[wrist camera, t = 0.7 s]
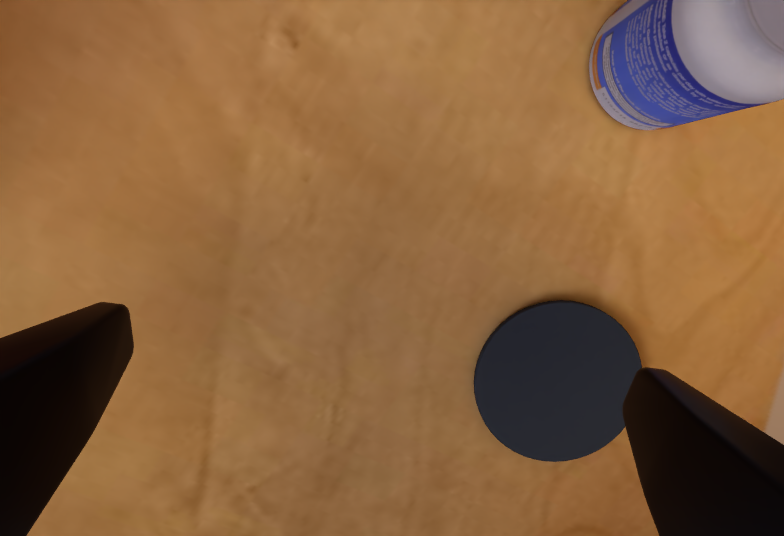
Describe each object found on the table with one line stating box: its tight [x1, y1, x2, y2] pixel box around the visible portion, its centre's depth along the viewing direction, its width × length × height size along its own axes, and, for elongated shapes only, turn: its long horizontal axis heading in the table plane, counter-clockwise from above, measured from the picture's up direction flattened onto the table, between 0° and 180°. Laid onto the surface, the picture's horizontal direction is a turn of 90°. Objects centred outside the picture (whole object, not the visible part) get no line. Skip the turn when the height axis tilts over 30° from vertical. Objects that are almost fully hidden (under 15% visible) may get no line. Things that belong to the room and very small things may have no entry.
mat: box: [474, 300, 642, 462], centre depth 23 cm, size 8×8×1 cm
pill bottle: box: [589, 0, 784, 130], centre depth 16 cm, size 5×5×10 cm
